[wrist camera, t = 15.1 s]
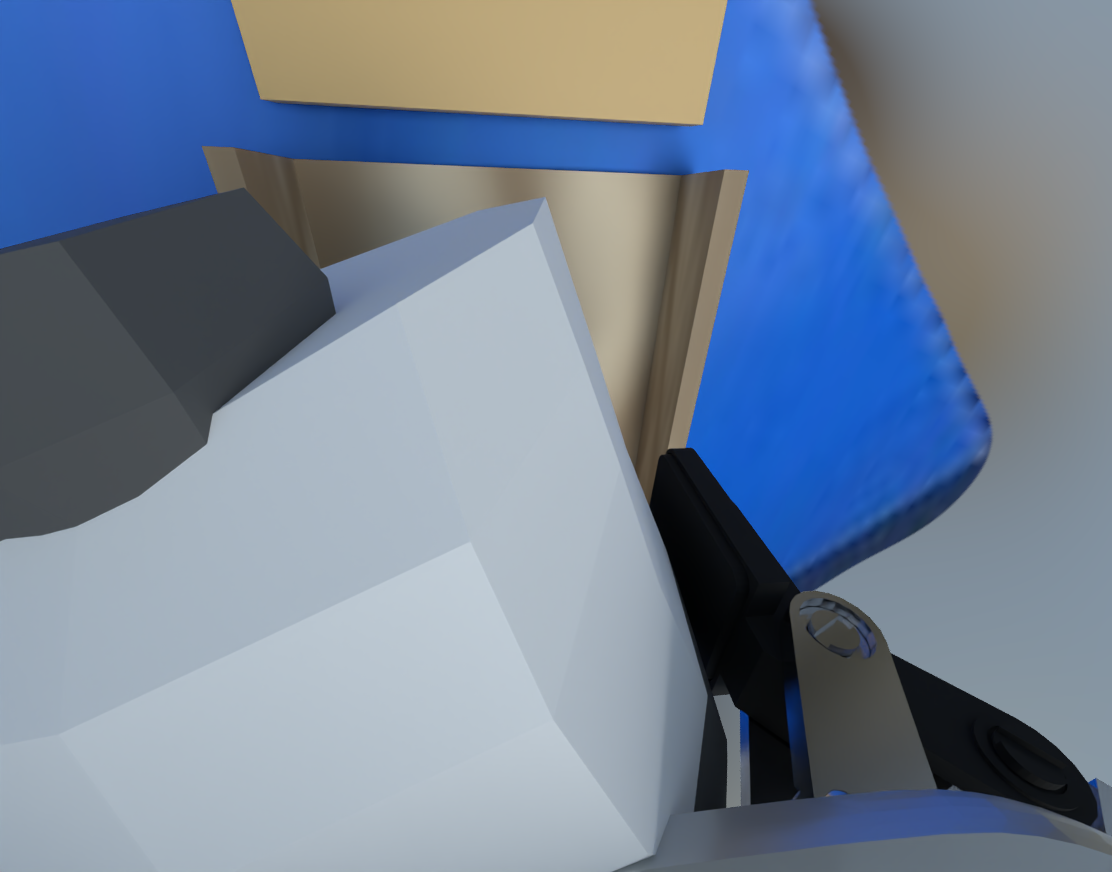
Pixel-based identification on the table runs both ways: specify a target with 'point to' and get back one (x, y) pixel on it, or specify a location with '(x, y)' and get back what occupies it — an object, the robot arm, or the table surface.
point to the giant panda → (328, 560)
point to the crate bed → (587, 242)
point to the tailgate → (489, 56)
